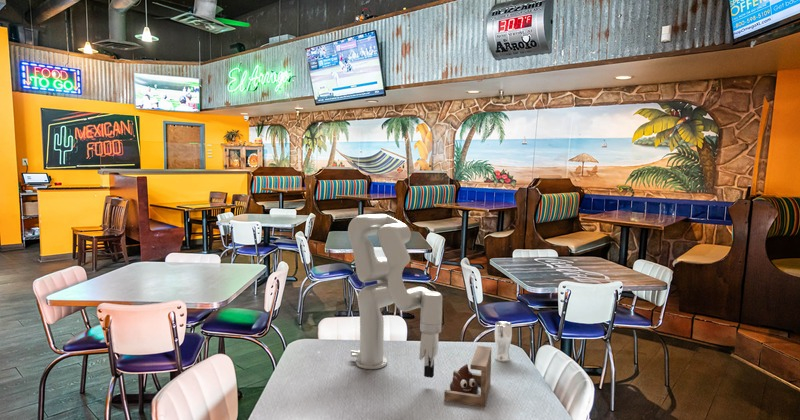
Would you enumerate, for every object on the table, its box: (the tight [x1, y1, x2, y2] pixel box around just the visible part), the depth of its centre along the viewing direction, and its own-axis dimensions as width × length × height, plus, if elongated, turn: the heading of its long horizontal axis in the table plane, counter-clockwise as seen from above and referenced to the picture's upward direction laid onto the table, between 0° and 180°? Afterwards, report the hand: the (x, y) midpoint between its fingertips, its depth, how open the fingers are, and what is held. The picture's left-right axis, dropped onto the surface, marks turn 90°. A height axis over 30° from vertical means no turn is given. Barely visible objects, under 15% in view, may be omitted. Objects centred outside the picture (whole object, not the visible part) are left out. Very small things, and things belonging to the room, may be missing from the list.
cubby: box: [443, 345, 492, 408], centre depth 155 cm, size 14×18×14 cm
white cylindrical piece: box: [494, 320, 513, 363], centre depth 184 cm, size 7×7×15 cm
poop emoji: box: [449, 363, 479, 394], centre depth 156 cm, size 10×8×9 cm
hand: (428, 376), depth 159 cm, fingers closed
